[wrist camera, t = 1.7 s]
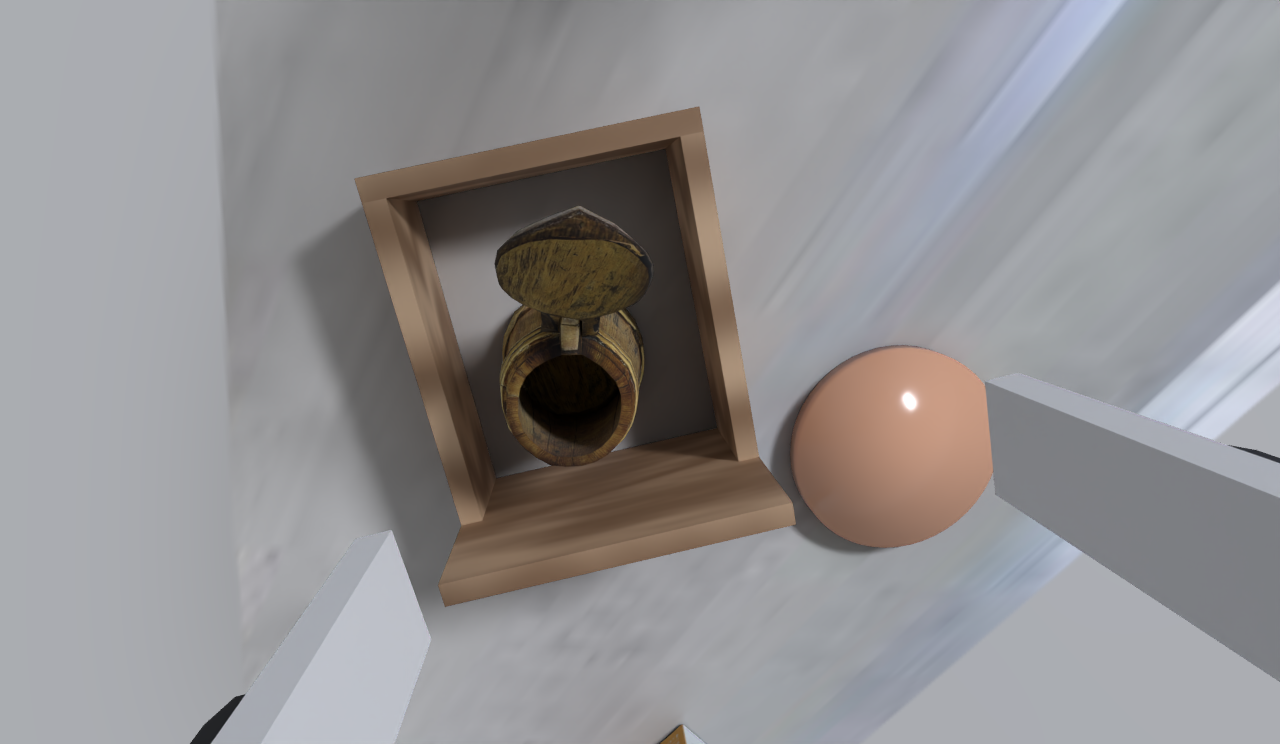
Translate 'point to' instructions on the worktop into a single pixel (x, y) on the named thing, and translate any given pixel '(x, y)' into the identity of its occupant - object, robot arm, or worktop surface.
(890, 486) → the peach round disc
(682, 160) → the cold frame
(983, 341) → the worktop surface
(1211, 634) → the robot arm
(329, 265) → the worktop surface
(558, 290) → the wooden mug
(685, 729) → the small box
